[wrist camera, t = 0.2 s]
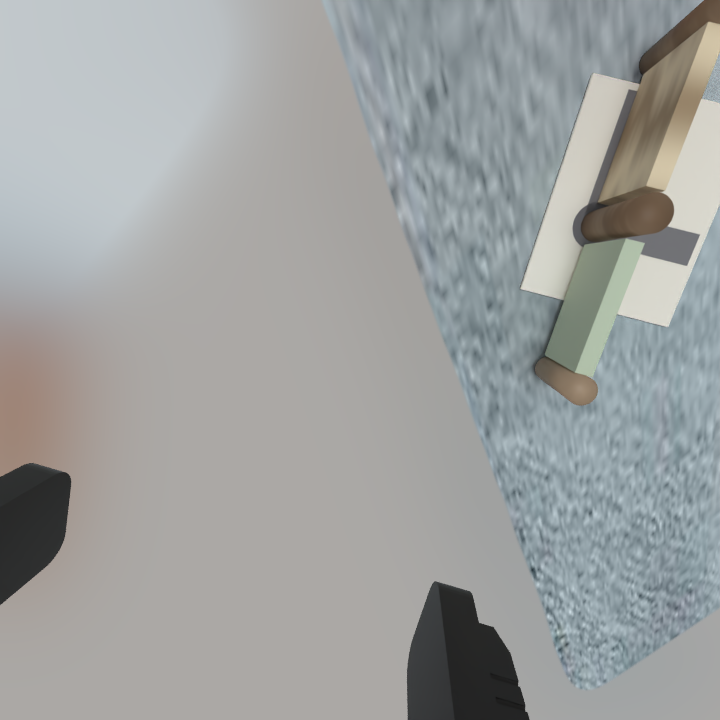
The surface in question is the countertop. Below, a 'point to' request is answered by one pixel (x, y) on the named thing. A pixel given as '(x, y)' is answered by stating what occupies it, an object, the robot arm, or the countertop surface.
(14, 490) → the robot arm
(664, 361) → the countertop surface
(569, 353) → the fence gate
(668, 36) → the fence fixed
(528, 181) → the countertop surface
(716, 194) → the card
